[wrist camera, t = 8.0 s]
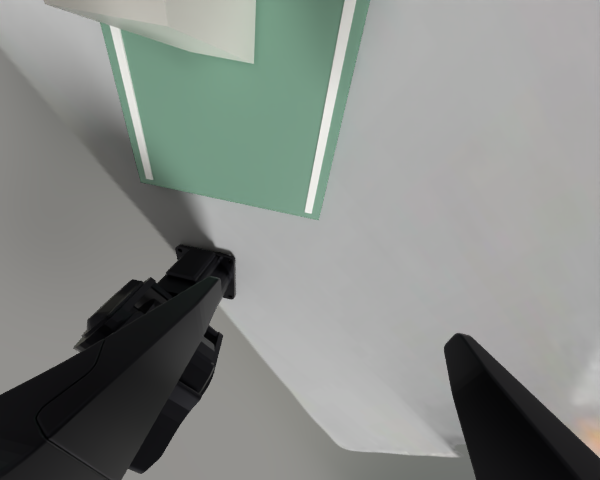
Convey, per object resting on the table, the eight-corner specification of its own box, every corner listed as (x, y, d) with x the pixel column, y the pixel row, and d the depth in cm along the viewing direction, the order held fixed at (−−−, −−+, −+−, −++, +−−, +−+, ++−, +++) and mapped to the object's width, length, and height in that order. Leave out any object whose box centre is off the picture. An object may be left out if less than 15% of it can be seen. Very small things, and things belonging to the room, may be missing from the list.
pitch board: (319, 215, 19) (318, 220, 19) (149, 178, 20) (139, 182, 19) (492, -528, 6) (519, -637, 5) (-24, -568, 7) (-79, -670, 6)
